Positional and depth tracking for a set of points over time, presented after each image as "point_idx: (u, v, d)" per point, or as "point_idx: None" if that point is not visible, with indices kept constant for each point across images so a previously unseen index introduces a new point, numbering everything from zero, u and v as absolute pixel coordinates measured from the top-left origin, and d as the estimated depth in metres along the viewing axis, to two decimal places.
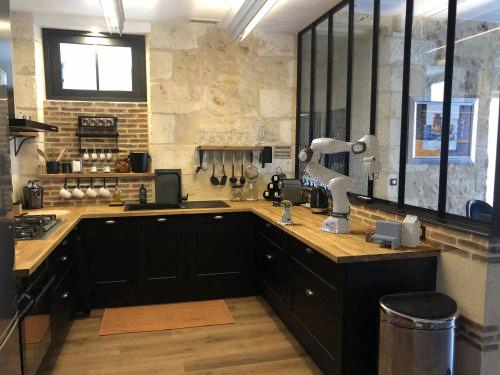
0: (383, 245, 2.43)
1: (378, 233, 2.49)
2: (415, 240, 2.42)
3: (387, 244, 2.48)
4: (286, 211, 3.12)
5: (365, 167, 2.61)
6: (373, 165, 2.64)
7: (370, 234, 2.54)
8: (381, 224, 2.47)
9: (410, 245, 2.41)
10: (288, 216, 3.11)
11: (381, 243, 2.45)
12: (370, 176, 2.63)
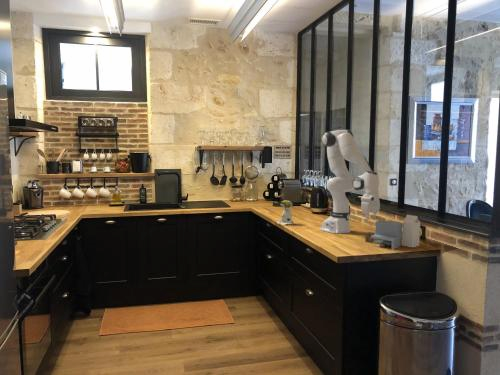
0: (383, 245, 2.43)
1: (378, 233, 2.49)
2: (415, 240, 2.42)
3: (387, 244, 2.48)
4: (286, 211, 3.12)
5: (362, 207, 2.47)
6: (371, 204, 2.50)
7: (370, 234, 2.54)
8: (381, 224, 2.47)
9: (410, 245, 2.41)
10: (288, 216, 3.11)
11: (381, 243, 2.45)
12: (367, 216, 2.50)
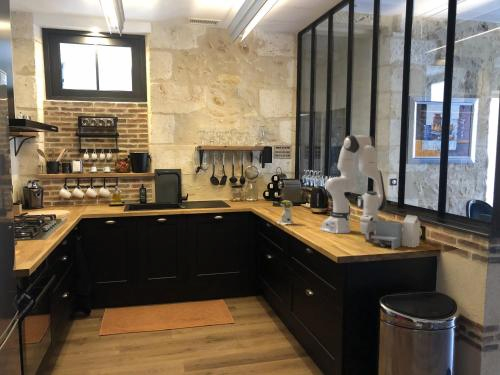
0: (383, 245, 2.43)
1: (378, 233, 2.49)
2: (415, 240, 2.42)
3: (387, 244, 2.48)
4: (286, 211, 3.12)
5: (361, 227, 2.48)
6: (370, 225, 2.52)
7: (370, 234, 2.54)
8: (381, 224, 2.47)
9: (410, 245, 2.41)
10: (288, 216, 3.11)
11: (381, 243, 2.45)
12: (367, 235, 2.53)
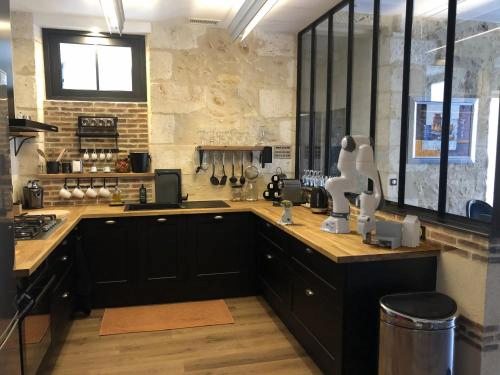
0: (383, 245, 2.42)
1: (378, 233, 2.49)
2: (415, 240, 2.42)
3: None
4: (286, 211, 3.12)
5: (358, 228, 2.44)
6: (367, 225, 2.48)
7: (368, 235, 2.49)
8: (381, 224, 2.47)
9: (410, 245, 2.41)
10: (288, 216, 3.11)
11: (381, 243, 2.45)
12: (364, 236, 2.49)
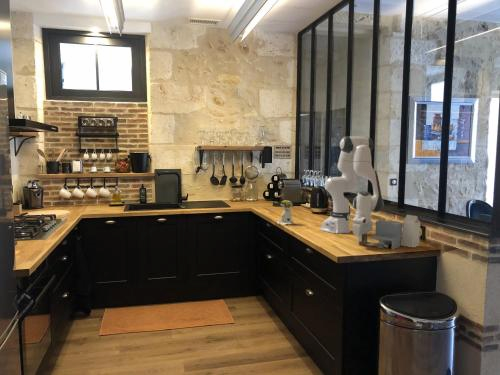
0: (381, 247, 2.38)
1: (378, 233, 2.49)
2: (415, 240, 2.42)
3: None
4: (286, 211, 3.12)
5: (354, 229, 2.40)
6: (363, 226, 2.44)
7: (364, 236, 2.45)
8: (381, 224, 2.47)
9: (410, 245, 2.41)
10: (288, 216, 3.11)
11: (378, 245, 2.40)
12: (360, 237, 2.45)
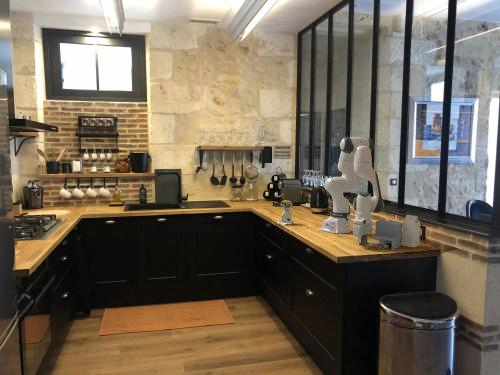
0: (381, 247, 2.38)
1: (378, 233, 2.49)
2: (415, 240, 2.42)
3: None
4: (286, 211, 3.12)
5: (354, 230, 2.40)
6: (363, 227, 2.44)
7: (364, 237, 2.45)
8: (381, 224, 2.47)
9: (410, 245, 2.41)
10: (288, 216, 3.11)
11: (378, 245, 2.40)
12: (359, 239, 2.44)
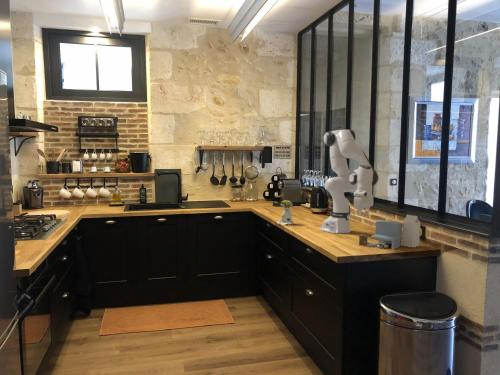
0: (381, 247, 2.38)
1: (378, 233, 2.49)
2: (415, 240, 2.42)
3: None
4: (286, 211, 3.12)
5: (355, 203, 2.39)
6: (364, 200, 2.42)
7: (364, 237, 2.45)
8: (381, 224, 2.47)
9: (410, 245, 2.41)
10: (288, 216, 3.11)
11: (378, 245, 2.40)
12: (359, 212, 2.42)
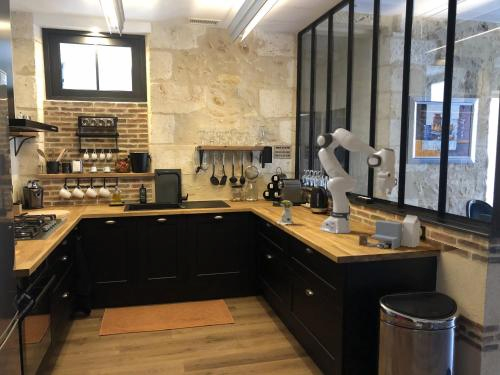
0: (381, 247, 2.38)
1: (378, 233, 2.49)
2: (415, 240, 2.42)
3: None
4: (286, 211, 3.12)
5: (379, 183, 2.52)
6: (387, 181, 2.55)
7: (364, 237, 2.45)
8: (381, 224, 2.47)
9: (410, 245, 2.41)
10: (288, 216, 3.11)
11: (378, 245, 2.40)
12: (383, 192, 2.55)
